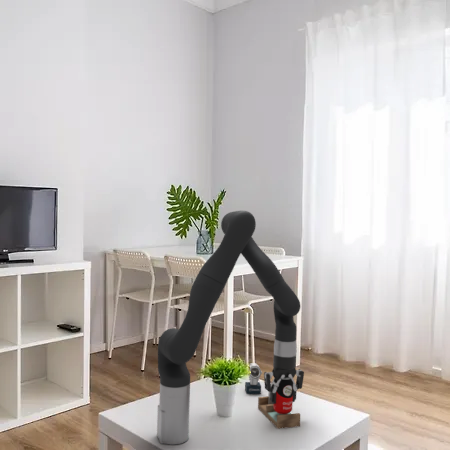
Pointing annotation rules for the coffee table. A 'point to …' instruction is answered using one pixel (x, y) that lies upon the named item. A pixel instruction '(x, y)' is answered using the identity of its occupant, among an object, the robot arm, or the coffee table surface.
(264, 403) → the wooden divided tray
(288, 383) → the beverage can
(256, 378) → the watch
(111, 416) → the coffee table surface
